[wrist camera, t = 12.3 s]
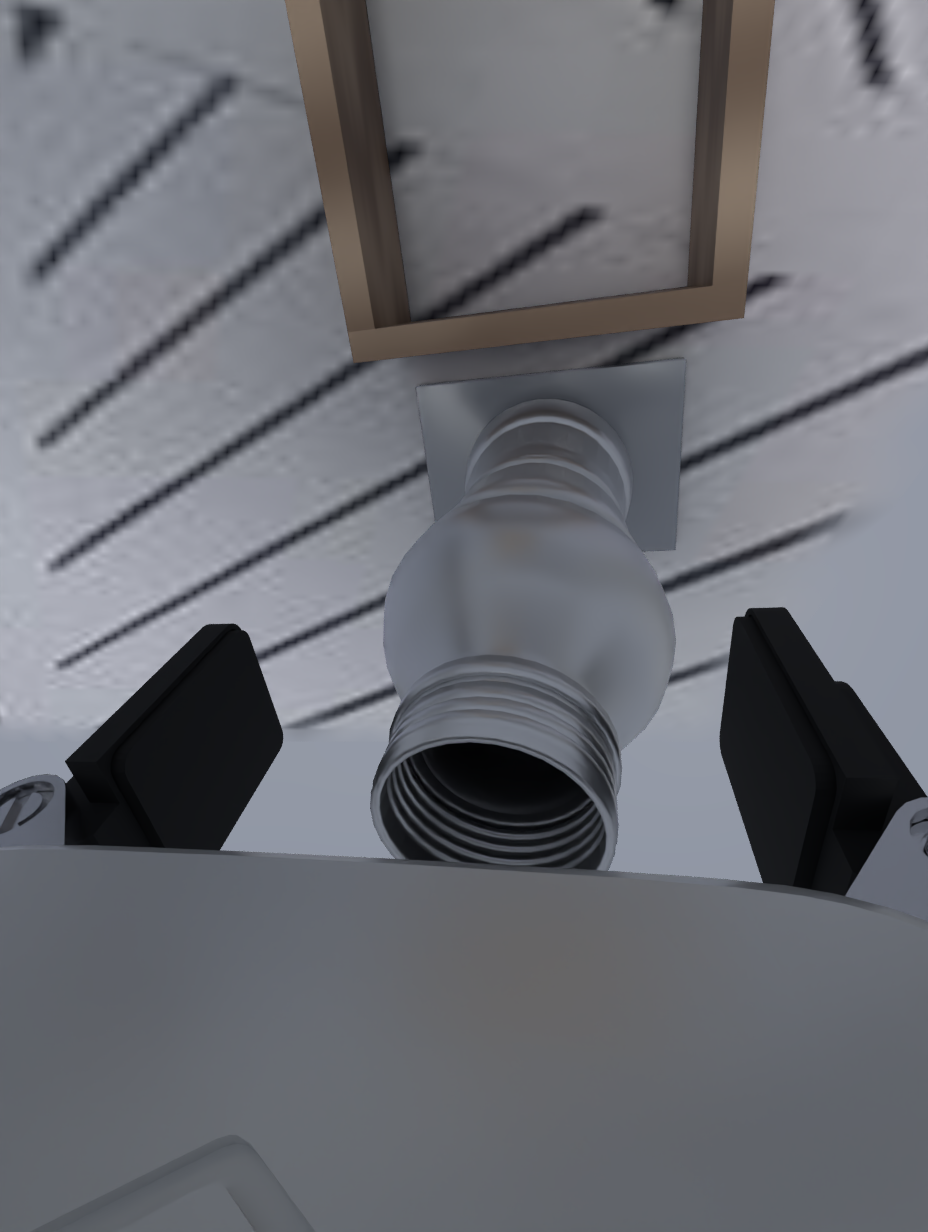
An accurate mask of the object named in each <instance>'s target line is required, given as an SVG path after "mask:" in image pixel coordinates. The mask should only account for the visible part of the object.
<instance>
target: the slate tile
mask: <svg viewBox="0 0 928 1232" xmlns="http://www.w3.org/2000/svg"><path fill="white" fill-rule="evenodd" d="M685 376H686V359H685V358H673V359H664V360H654V361H645V362H635V363H626V364H616V365H606V366H597V367H587V368H578V369H568V370H559V371H549V372H540V373H530V374H520V375H511V376H501V377H492V378H482V379H473V380H463V381H453V382H444V383H434V384H425V385H419V386H417V387H416V394H417V401H418V407H419V414H420V421H421V428H422V435H423V442H424V449H425V455H426V462H427V469H428V476H429V483H430V490H431V497H432V503H433V510H434V517H435V522H437V521H438V520H439V519H440V518H442V517H443V516H444V515H445V514H447V513H448V512H449V511H450V510H452V509H453V508H454V507H455V506H457V505H458V504H459V503H460V501H461V500H462V498H463V497H464V496H465V493H466V492H465V482H466V474H467V466H468V460H469V457H470V454H471V451H472V448H473V445H474V443H475V442H476V440H477V438H478V437H479V435H480V433H481V431H482V430H483V429H484V428H485V427H486V426H487V425H488V424H489V423H490V422H491V420H492V419H494V418H495V417H496V416H498V415H499V414H501V413H502V412H503V411H505V410H506V409H509V408H511V407H513V406H515V405H518V404H520V403H523V402H527V401H532V400H537V399H559V400H564V401H569V402H573V403H576V404H578V405H580V406H583V407H585V408H588V409H590V410H591V411H593V412H594V413H595V414H597V415H598V416H600V417H601V418H603V419H604V420H605V421H606V422H607V423H608V424H609V425H610V426H611V427H612V428H613V429H614V430H615V431H616V433H617V435H618V436H619V438H620V439H621V441H622V443H623V444H624V446H625V449H626V451H627V454H628V457H629V459H630V463H631V470H632V477H633V480H632V495H631V501H630V506H629V510H628V513H627V517H626V520H625V522H626V526H627V528H628V531H629V533H630V535H631V536H632V538H633V539H634V541H635V542H636V544H637V545H638V547H639V548H640V549H641V551H665V550H675V548H676V531H677V514H678V496H679V479H680V462H681V445H682V428H683V410H684V393H685Z"/></svg>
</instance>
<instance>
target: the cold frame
mask: <svg viewBox="0 0 928 1232" xmlns="http://www.w3.org/2000/svg"><path fill="white" fill-rule="evenodd" d="M285 3H286V8H287V14H288V19H289V24H290V30H291V35H292V40H293V45H294V51H295V56H296V61H297V67H298V72H299V77H300V82H301V88H302V93H303V98H304V104H305V109H306V114H307V119H308V125H309V130H310V135H311V141H312V146H313V151H314V156H315V162H316V167H317V172H318V177H319V183H320V188H321V193H322V199H323V204H324V209H325V214H326V220H327V225H328V230H329V236H330V241H331V246H332V251H333V257H334V262H335V267H336V273H337V278H338V283H339V288H340V294H341V299H342V304H343V309H344V315H345V320H346V325H347V331H348V336H349V341H350V346H351V352H352V357H353V362H354V363H359V362H367V361H376V360H385V359H393V358H402V357H411V356H419V355H428V354H436V353H445V352H454V351H462V350H471V349H480V348H488V347H497V346H506V345H514V344H523V343H532V342H540V341H549V340H558V339H566V338H575V337H584V336H592V335H601V334H610V333H618V332H627V331H636V330H644V329H653V328H662V327H670V326H679V325H688V324H696V323H705V322H713V321H722V320H731V319H739V318H744V312H745V302H746V291H747V281H748V271H749V261H750V251H751V240H752V230H753V220H754V210H755V199H756V189H757V179H758V169H759V158H760V148H761V138H762V128H763V117H764V107H765V97H766V87H767V77H768V66H769V56H770V46H771V36H772V25H773V15H774V5H775V0H703V15H702V33H701V50H700V68H699V86H698V104H697V122H696V140H695V158H694V176H693V194H692V212H691V230H690V248H689V266H688V284H687V287H680V288H672V289H664V290H656V291H648V292H641V293H633V294H625V295H617V296H609V297H602V298H594V299H586V300H578V301H571V302H563V303H555V304H547V305H539V306H532V307H524V308H516V309H508V310H500V311H493V312H485V313H477V314H469V315H461V316H454V317H446V318H438V319H430V320H423V321H415V322H411V318H410V311H409V304H408V297H407V290H406V283H405V276H404V269H403V262H402V254H401V247H400V240H399V233H398V226H397V219H396V212H395V205H394V198H393V191H392V184H391V177H390V170H389V163H388V156H387V149H386V142H385V135H384V128H383V121H382V114H381V107H380V100H379V93H378V86H377V79H376V72H375V65H374V58H373V51H372V44H371V37H370V30H369V23H368V16H367V8H366V1H365V0H285Z"/></svg>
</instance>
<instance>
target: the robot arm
mask: <svg viewBox="0 0 928 1232" xmlns="http://www.w3.org/2000/svg"><path fill="white" fill-rule="evenodd" d="M282 743H283V732H282V728H281V725H280V722H279V720H278V717H277V714H276V711H275V708H274V705H273V703H272V700H271V697H270V694H269V691H268V688H267V686H266V683H265V680H264V677H263V674H262V671H261V668H260V666H259V663H258V660H257V657H256V654H255V651H254V649H253V646H252V643H251V640H250V637H249V635H248V634H247V632H246V631H243V630H241V628H240V627H239V626H238V625H236V624H209V625H206V626H204V627H203V628H202V629H201V630H200V631H199V632H197V633H196V634H195V635H194V636H193V637H192V638H191V639H190V640H189V641H188V642H187V643H186V644H185V645H184V646H183V647H182V648H181V649H180V650H179V651H178V652H177V653H176V654H175V655H174V656H173V657H172V658H171V659H170V660H169V661H168V662H167V663H166V664H165V665H164V666H163V667H161V668H160V669H159V670H158V671H157V672H156V673H155V674H154V675H153V676H152V677H151V678H150V679H149V680H148V681H147V682H146V683H145V684H144V685H143V686H142V687H141V688H140V689H139V690H138V691H137V692H136V693H135V694H134V695H133V696H132V697H131V698H130V699H129V700H128V701H127V702H126V703H124V704H123V705H122V706H121V707H120V708H119V709H118V710H117V711H116V712H115V713H114V714H113V715H112V716H111V717H110V718H109V719H108V720H107V721H106V722H105V723H104V724H103V725H102V726H101V727H100V728H99V729H98V730H97V731H96V732H95V733H94V734H93V735H92V736H91V737H90V738H88V739H87V740H86V741H85V742H84V743H83V744H82V745H81V746H80V747H79V748H78V749H77V750H76V751H75V752H74V753H73V754H72V755H71V756H70V757H69V758H68V759H67V760H66V761H65V762H66V764H67V766H68V767H69V769H70V771H71V772H72V774H73V777H72V778H71V779H70V780H69V781H68V782H67V783H65V782H64V780H63V779H62V778H60V777H59V776H57V775H49V774H44V775H36V776H31V777H28V778H25V779H22V780H19V781H17V782H14V783H12V784H10V785H8V786H6V787H4V788H2V789H0V1232H928V797H927V796H926V794H925V793H924V791H923V790H922V788H921V787H920V786H919V784H918V783H917V781H916V780H915V778H914V777H913V776H912V774H911V773H910V771H909V770H908V768H907V767H906V765H905V764H904V762H903V761H902V760H901V758H900V757H899V755H898V754H897V752H896V751H895V749H894V748H893V746H892V745H891V744H890V742H889V741H888V739H887V738H886V737H885V735H884V733H883V732H882V731H881V729H880V728H879V726H878V725H877V723H876V722H875V720H874V719H873V718H872V716H871V715H870V714H869V712H868V710H867V709H866V708H865V706H864V705H863V703H862V702H861V700H860V699H859V697H858V696H857V695H856V693H855V692H854V690H853V689H852V688H851V687H850V686H849V685H848V684H847V683H844V682H842V681H839V682H838V681H837V682H836V681H834V680H833V678H832V677H831V675H830V674H829V672H828V671H827V669H826V668H825V666H824V665H823V663H822V662H821V660H820V659H819V657H818V656H817V654H816V653H815V651H814V650H813V648H812V647H811V645H810V643H809V642H808V640H807V639H806V637H805V636H804V634H803V633H802V631H801V630H800V628H799V627H798V625H797V624H796V622H795V621H794V619H793V618H792V616H791V615H790V613H789V612H788V610H787V609H786V608H783V607H778V608H749V609H748V610H747V612H746V614H745V617H736V618H735V620H734V624H733V631H732V639H731V647H730V655H729V663H728V672H727V680H726V688H725V696H724V704H723V712H722V720H721V729H720V749H721V754H722V758H723V761H724V764H725V767H726V770H727V773H728V776H729V779H730V783H731V785H732V789H733V792H734V795H735V798H736V801H737V804H738V807H739V810H740V813H741V816H742V819H743V823H744V825H745V829H746V832H747V835H748V838H749V841H750V844H751V847H752V850H753V853H754V856H755V860H756V863H757V866H758V868H759V872H760V875H761V878H762V881H763V883H756V882H745V881H737V880H728V879H716V878H715V879H714V878H704V877H691V876H676V875H660V874H645V873H632V872H631V873H630V872H618V871H601V870H584V869H566V868H549V867H531V866H514V865H496V864H479V863H461V862H442V861H423V860H404V859H385V858H366V857H346V856H345V857H344V856H326V855H306V854H286V853H265V852H263V853H262V852H243V851H220V849H221V847H222V846H223V844H224V842H225V841H226V839H227V837H228V836H229V834H230V832H231V831H232V829H233V827H234V826H235V824H236V822H237V821H238V819H239V817H240V816H241V814H242V812H243V811H244V809H245V807H246V806H247V804H248V802H249V801H250V799H251V797H252V796H253V794H254V792H255V791H256V789H257V787H258V786H259V784H260V782H261V781H262V779H263V777H264V776H265V774H266V772H267V771H268V769H269V767H270V766H271V764H272V762H273V761H274V759H275V757H276V756H277V754H278V752H279V751H280V749H281V747H282Z"/></svg>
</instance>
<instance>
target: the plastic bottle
mask: <svg viewBox="0 0 928 1232" xmlns="http://www.w3.org/2000/svg"><path fill="white" fill-rule="evenodd" d="M632 480H633V477H632V470H631V463H630V459H629V457H628V454H627V451H626V449H625V446H624V444H623V443H622V441H621V439H620V438H619V436H618V435H617V433H616V431H615V430H614V429H613V428H612V427H611V426H610V425H609V424H608V423H607V422H606V421H605V420H604V419H603V418H601V417H600V416H598V415H597V414H595V413H594V412H593V411H591V410H590V409H588V408H585V407H583V406H580V405H578V404H576V403H573V402H569V401H564V400H559V399H537V400H532V401H527V402H523V403H520V404H518V405H515V406H513V407H511V408H509V409H506V410H505V411H503V412H502V413H501V414H499V415H498V416H496V417H495V418H494V419H492V420H491V422H490V423H489V424H488V425H487V426H486V427H485V428H484V429H483V430H482V431H481V433H480V435H479V437H478V438H477V440H476V442H475V443H474V445H473V448H472V451H471V454H470V457H469V460H468V466H467V474H466V482H465V492H466V493H465V496H464V497H463V498H462V500H461V501H460V503H459V504H458V505H457V506H455V507H454V508H453V509H452V510H450V511H449V512H448V513H447V514H445V515H444V516H443V517H442V518H440V519H439V520H438V521H437V522H435V523H434V524H433V525H432V526H431V527H430V528H429V529H428V530H427V531H426V532H425V533H424V534H423V535H422V536H421V537H420V538H419V539H418V540H417V541H416V543H415V544H414V545H413V546H412V548H411V549H410V550H409V551H408V552H407V553H406V554H405V556H404V557H403V559H402V561H401V562H400V564H399V566H398V567H397V569H396V571H395V573H394V574H393V576H392V579H391V582H390V586H389V589H388V592H387V595H386V599H385V612H384V639H383V645H384V652H385V658H386V664H387V668H388V671H389V673H390V676H391V679H392V681H393V684H394V686H395V689H396V691H397V693H398V695H399V697H400V699H401V703H400V705H399V707H398V710H397V712H396V714H395V717H394V719H393V722H392V725H391V728H390V734H389V745H388V747H387V749H386V751H385V753H384V755H383V758H382V760H381V762H380V764H379V766H378V769H377V772H376V775H375V778H374V780H373V788H372V791H371V803H370V809H371V814H372V819H373V823H374V826H375V828H376V830H377V833H378V835H379V837H380V839H381V841H382V842H383V844H384V845H385V847H386V848H387V849H388V851H389V852H390V853H391V855H392V856H393V857H394V858H395V859H404V860H423V861H442V862H461V863H479V864H496V865H514V866H531V867H549V868H566V869H584V870H601V871H608V870H609V868H610V865H611V863H612V860H613V857H614V855H615V847H616V844H617V836H618V814H617V794H618V792H619V789H620V785H621V772H622V765H621V750H622V749H623V748H625V747H626V746H627V745H628V744H629V743H630V742H632V741H633V740H634V739H635V738H636V737H637V736H638V735H639V734H640V733H641V732H642V731H643V730H644V729H645V728H646V727H647V725H648V724H649V722H650V721H651V719H652V718H653V717H654V715H655V714H656V712H657V711H658V709H659V706H660V704H661V701H662V698H663V696H664V693H665V690H666V688H667V684H668V681H669V677H670V674H671V671H672V667H673V661H674V653H675V644H676V637H675V629H674V621H673V614H672V611H671V609H670V606H669V603H668V601H667V598H666V595H665V593H664V590H663V588H662V586H661V584H660V582H659V579H658V577H657V574H656V572H655V570H654V569H653V567H652V566H651V564H650V563H649V561H648V560H647V558H646V557H645V555H644V554H643V552H642V551H641V549H640V548H639V547H638V545H637V544H636V542H635V541H634V539H633V538H632V536H631V535H630V533H629V531H628V528H627V526H626V522H625V520H626V517H627V513H628V510H629V506H630V501H631V495H632Z"/></svg>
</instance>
